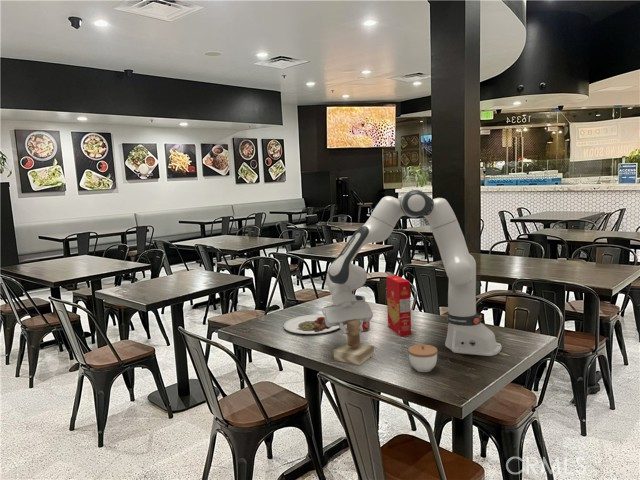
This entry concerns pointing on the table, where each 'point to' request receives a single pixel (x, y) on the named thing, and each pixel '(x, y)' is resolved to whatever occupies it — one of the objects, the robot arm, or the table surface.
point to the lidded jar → (423, 357)
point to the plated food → (308, 324)
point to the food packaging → (398, 305)
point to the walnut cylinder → (353, 333)
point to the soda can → (365, 325)
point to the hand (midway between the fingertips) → (353, 332)
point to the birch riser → (354, 353)
